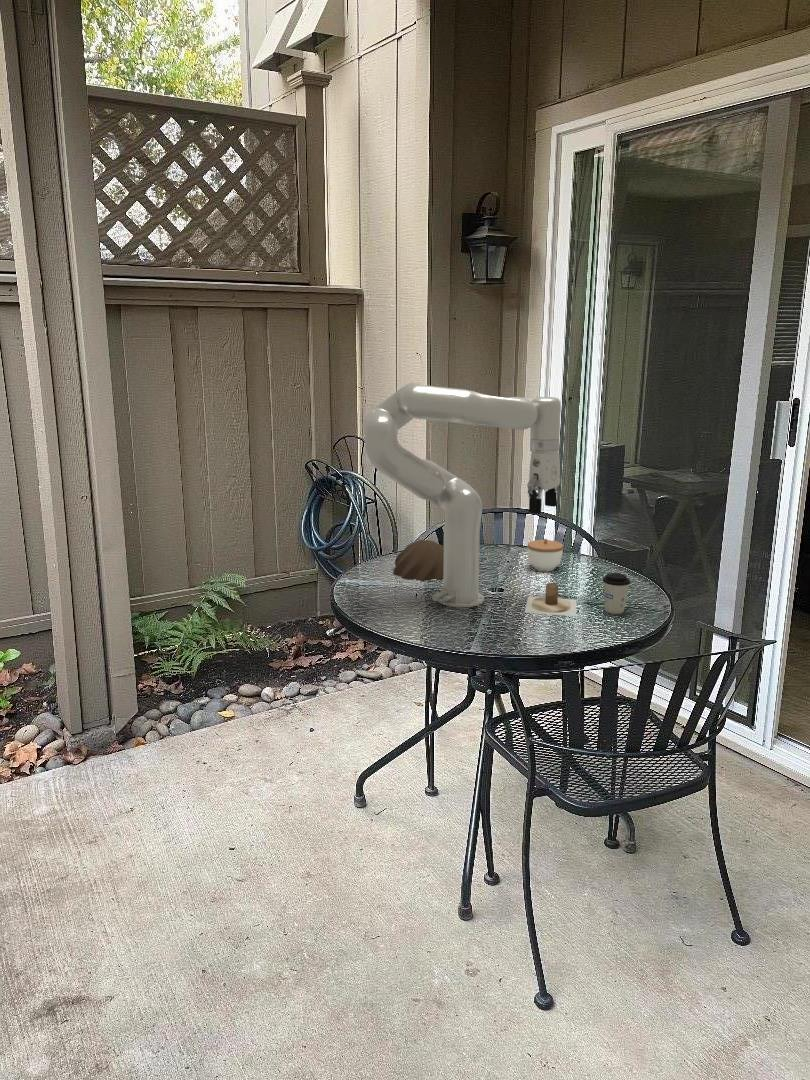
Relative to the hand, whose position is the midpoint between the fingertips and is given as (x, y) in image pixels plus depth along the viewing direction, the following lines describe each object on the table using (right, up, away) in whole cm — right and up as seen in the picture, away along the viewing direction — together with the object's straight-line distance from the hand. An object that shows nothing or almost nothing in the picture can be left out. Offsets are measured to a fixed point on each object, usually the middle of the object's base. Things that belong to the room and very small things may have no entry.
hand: (542, 509), depth 207 cm
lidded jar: (+6, -17, +33) cm, 38 cm away
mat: (+2, -26, -2) cm, 26 cm away
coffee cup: (+18, -27, -5) cm, 33 cm away
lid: (+2, -25, -2) cm, 26 cm away
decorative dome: (-31, -18, +30) cm, 47 cm away
